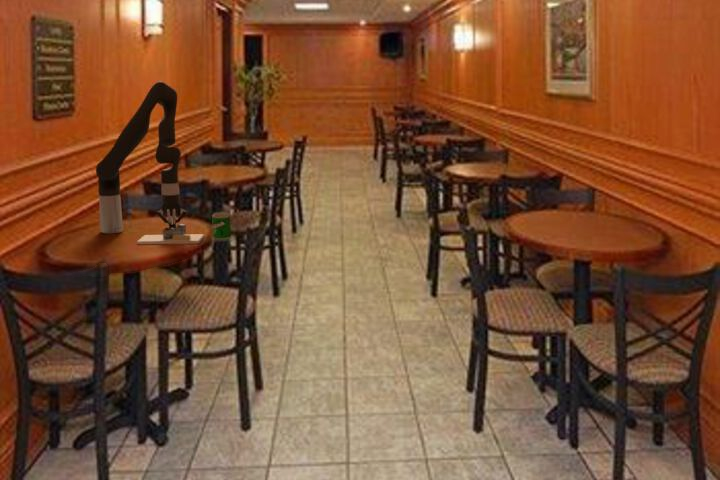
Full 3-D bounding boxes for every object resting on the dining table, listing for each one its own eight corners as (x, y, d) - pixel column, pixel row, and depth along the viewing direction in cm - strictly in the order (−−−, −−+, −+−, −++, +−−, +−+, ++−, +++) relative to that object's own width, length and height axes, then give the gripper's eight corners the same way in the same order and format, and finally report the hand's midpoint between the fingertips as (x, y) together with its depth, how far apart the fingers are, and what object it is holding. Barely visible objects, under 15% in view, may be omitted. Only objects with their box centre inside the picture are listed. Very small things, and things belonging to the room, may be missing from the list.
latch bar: (167, 239, 327) (167, 229, 326) (161, 238, 329) (160, 228, 328) (187, 234, 336) (186, 224, 335) (180, 233, 338) (180, 223, 338)
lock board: (137, 244, 325) (136, 237, 324) (145, 237, 338) (144, 230, 337) (198, 243, 325) (198, 236, 325) (204, 236, 338) (203, 230, 337)
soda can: (222, 237, 337) (221, 210, 334) (234, 239, 332) (233, 212, 330) (209, 240, 331) (208, 213, 328) (221, 242, 326) (219, 215, 324)
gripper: (153, 194, 328) (156, 234, 332) (185, 194, 330) (187, 233, 334) (155, 192, 335) (158, 230, 339) (186, 191, 337) (188, 229, 341)
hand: (172, 232), depth 337 cm, fingers closed
